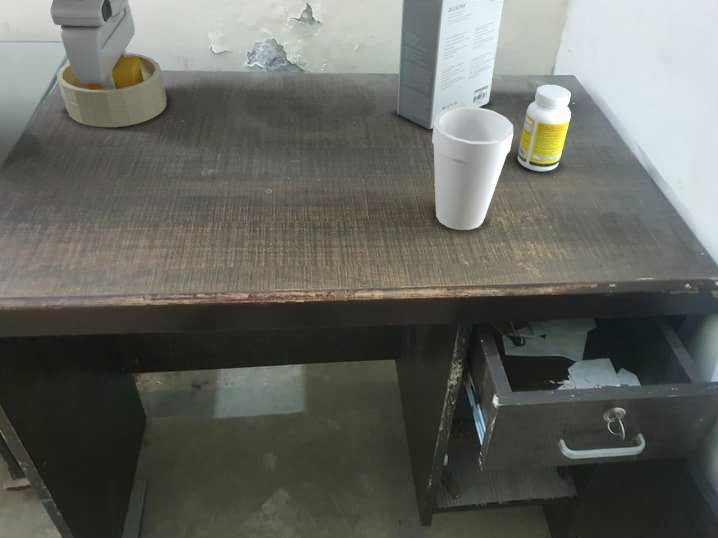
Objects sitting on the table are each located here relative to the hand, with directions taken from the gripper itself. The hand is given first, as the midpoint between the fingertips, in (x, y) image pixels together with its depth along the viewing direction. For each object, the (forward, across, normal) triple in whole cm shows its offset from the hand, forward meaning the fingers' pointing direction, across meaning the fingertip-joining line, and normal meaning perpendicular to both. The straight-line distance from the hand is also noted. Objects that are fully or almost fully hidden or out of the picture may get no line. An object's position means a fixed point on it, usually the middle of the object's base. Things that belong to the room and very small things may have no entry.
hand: (116, 87), depth 98 cm
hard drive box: (+3, -1, +52) cm, 52 cm away
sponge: (+2, 0, 0) cm, 2 cm away
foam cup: (+3, +30, +50) cm, 58 cm away
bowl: (+3, +1, 0) cm, 3 cm away
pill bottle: (+3, +16, +64) cm, 66 cm away
